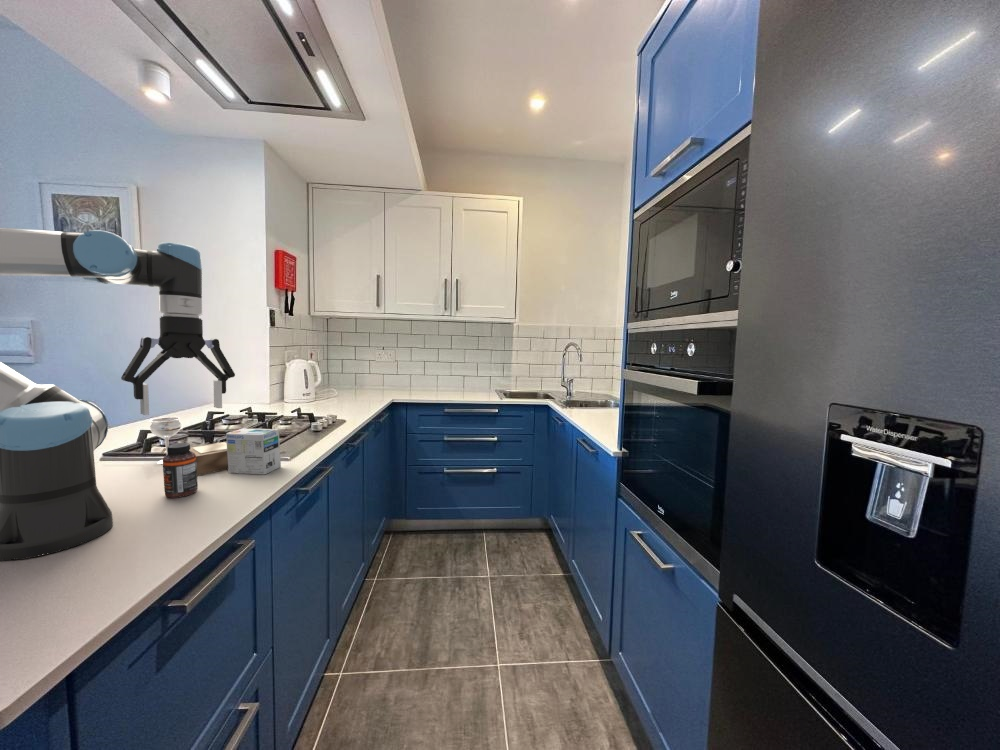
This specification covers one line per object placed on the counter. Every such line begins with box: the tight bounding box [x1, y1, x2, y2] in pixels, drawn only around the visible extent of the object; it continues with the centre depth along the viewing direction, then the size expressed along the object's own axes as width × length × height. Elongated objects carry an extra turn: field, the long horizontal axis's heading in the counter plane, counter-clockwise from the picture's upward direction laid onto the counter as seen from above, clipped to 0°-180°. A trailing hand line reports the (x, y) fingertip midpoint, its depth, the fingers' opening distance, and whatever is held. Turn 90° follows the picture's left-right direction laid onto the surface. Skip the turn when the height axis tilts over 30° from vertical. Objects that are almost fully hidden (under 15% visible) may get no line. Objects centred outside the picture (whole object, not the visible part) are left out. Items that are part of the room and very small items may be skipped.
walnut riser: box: [189, 441, 228, 476], centre depth 111 cm, size 11×11×5 cm
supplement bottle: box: [162, 442, 199, 499], centre depth 92 cm, size 6×6×11 cm
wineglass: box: [149, 416, 182, 465], centre depth 115 cm, size 7×7×12 cm
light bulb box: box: [225, 427, 282, 475], centre depth 108 cm, size 11×7×11 cm, turn 84°
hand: (183, 410), depth 92 cm, fingers open, 13 cm apart
